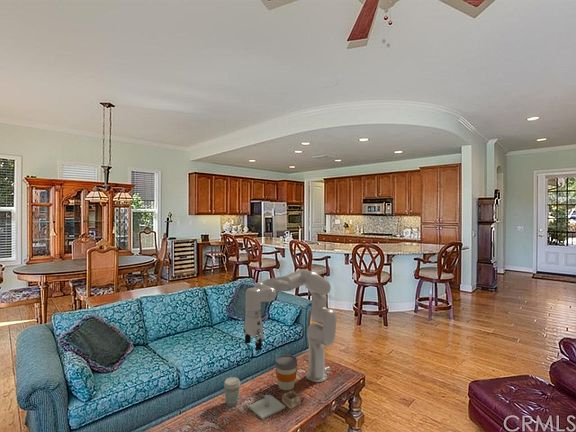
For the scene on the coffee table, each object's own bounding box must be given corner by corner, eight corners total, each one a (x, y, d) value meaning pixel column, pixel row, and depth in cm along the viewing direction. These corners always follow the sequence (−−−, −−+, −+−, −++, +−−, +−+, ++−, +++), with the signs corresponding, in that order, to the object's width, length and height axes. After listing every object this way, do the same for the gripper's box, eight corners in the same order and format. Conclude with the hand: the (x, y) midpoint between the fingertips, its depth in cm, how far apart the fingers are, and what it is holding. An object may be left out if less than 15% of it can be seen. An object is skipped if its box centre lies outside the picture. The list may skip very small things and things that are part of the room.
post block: (271, 396, 172) (271, 385, 172) (285, 407, 163) (285, 396, 163) (248, 407, 163) (248, 395, 163) (262, 419, 154) (262, 407, 154)
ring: (292, 397, 172) (292, 390, 172) (300, 403, 166) (300, 396, 166) (281, 402, 167) (281, 394, 167) (290, 409, 162) (290, 401, 162)
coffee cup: (224, 410, 161) (224, 386, 161) (223, 400, 169) (223, 377, 169) (241, 407, 163) (241, 384, 163) (239, 397, 172) (239, 375, 171)
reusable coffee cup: (298, 380, 188) (298, 355, 188) (296, 392, 176) (296, 366, 175) (276, 379, 190) (276, 354, 189) (273, 391, 177) (273, 364, 177)
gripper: (269, 315, 158) (269, 350, 158) (250, 307, 171) (250, 338, 172) (256, 319, 153) (256, 354, 154) (237, 310, 166) (237, 342, 167)
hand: (253, 346), depth 163 cm, fingers open, 9 cm apart
